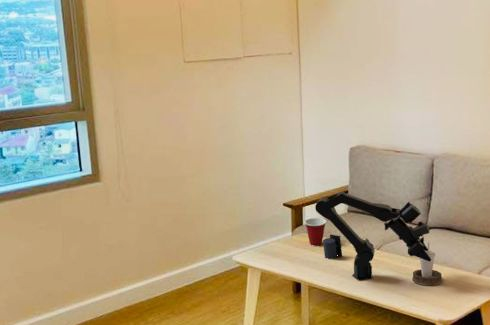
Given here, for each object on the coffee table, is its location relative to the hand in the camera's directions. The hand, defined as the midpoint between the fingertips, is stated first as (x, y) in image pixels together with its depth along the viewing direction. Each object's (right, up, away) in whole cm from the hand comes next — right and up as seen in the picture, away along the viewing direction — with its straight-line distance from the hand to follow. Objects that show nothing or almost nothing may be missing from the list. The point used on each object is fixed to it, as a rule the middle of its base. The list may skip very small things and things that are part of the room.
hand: (430, 258), depth 253 cm
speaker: (-35, -5, +36) cm, 50 cm away
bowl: (-1, -9, +2) cm, 10 cm away
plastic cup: (-40, -2, +57) cm, 70 cm away
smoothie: (-1, -8, +2) cm, 8 cm away
